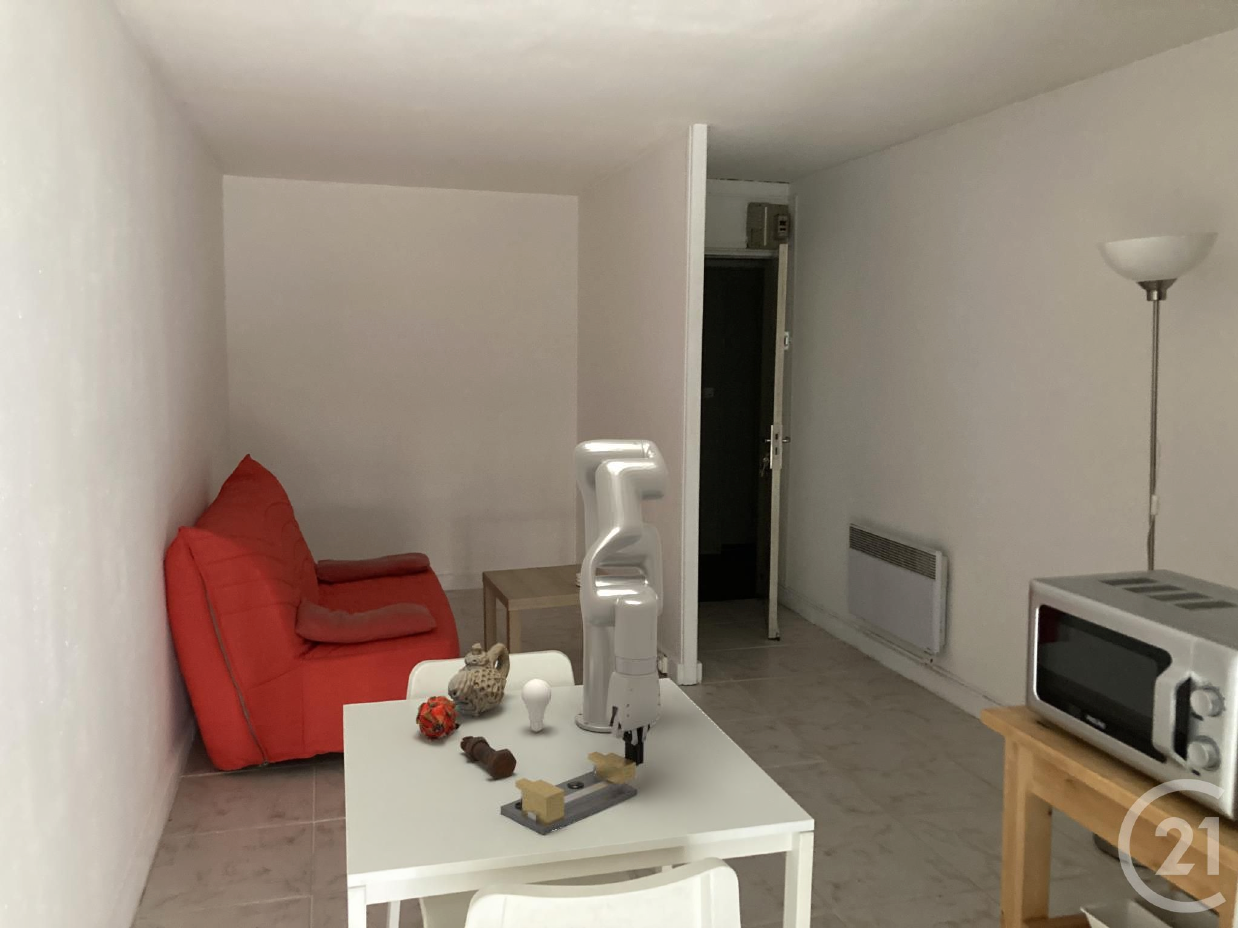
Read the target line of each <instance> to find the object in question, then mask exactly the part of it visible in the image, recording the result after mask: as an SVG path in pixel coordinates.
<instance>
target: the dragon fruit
mask: <svg viewBox="0 0 1238 928" xmlns="http://www.w3.org/2000/svg"><path fill="white" fill-rule="evenodd" d="M456 707H457V704H456V703H455V702H454V701H453V700H450V699H449V698H448V697H447V696H446V695H439V696H436V695H435V696H429V697H428V699H427V700H426V702H422V703H421V704H420V705H419V706H418V708H417V710H418V712H417V715H416V718H415V724H416V725H418V727H419V732H421V733H424V736H425V737H426V738H427V740H429V741H431V742H435V741H436V740H438V739H441V738H445V737H446V736H449V735H451V734H452V733H453V732H454V731H457V730H459V729H460V727H461V725H462V723H461V722H458V720H459V712H458V711H457V710H456Z"/></svg>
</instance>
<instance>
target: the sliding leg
mask: <svg viewBox="0 0 1238 928" xmlns="http://www.w3.org/2000/svg"><path fill="white" fill-rule="evenodd" d="M587 756H588V757H587V760H588V761H590V762H592V764H593V765H592V766H593V767H592V771H593V775H597V776H600V777H602V778H604V779H607V780H609V781H611V782H614V783H616V784H618V785H621V784H623V783H625V784H627V783H628V782H631V781H632V780H636V777H637V775H636V770H637V769H636V768H637V766H636V762H634V761H632V760H629V759H627V758H625V756H621V755H619V754H617V753H614V752H610V753H607V754H604V753H601V752H598V751H594V752H591V753H589V754H587Z"/></svg>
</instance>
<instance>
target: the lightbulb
mask: <svg viewBox="0 0 1238 928" xmlns="http://www.w3.org/2000/svg"><path fill="white" fill-rule="evenodd" d="M551 699H552V689H551V687H550V685H549V684H548V683H547V682H546V681H545V680H543V679H540V678H535V679H534V678H533V679H531V680H529V681H527V682H526V683H525V684H524V686H523V687H522V690H521V700H522V701H523V704H524V705H525V707H526V709H527V712H528V713H527V714H528V719H529V726H530V727H529V728H530V729H531V730H532V731H533V732H534V733H539V732H540V731H541V730H543V724H544V719H545V713H546V709H547V707H548V705H549V703H550V702H551Z"/></svg>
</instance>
